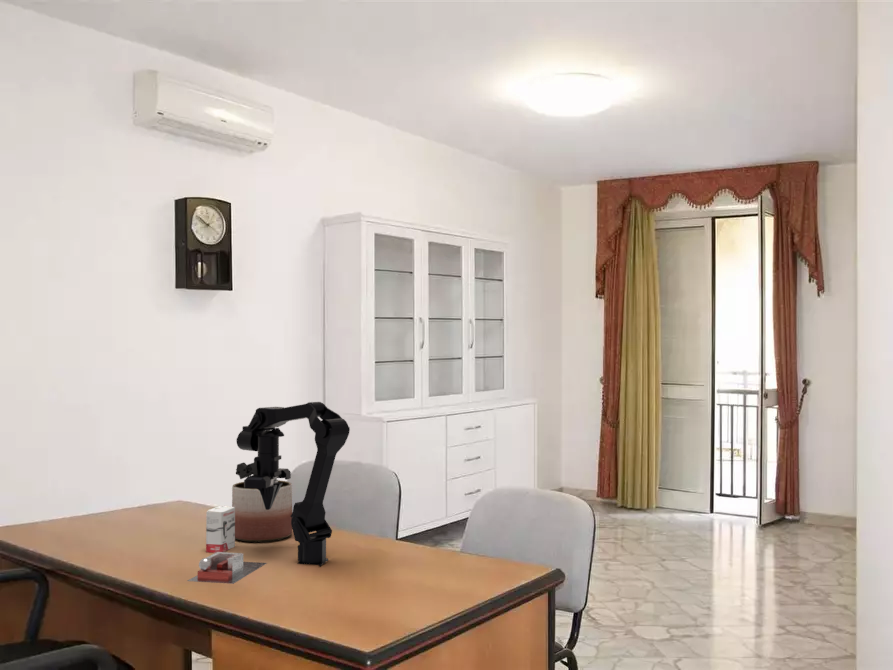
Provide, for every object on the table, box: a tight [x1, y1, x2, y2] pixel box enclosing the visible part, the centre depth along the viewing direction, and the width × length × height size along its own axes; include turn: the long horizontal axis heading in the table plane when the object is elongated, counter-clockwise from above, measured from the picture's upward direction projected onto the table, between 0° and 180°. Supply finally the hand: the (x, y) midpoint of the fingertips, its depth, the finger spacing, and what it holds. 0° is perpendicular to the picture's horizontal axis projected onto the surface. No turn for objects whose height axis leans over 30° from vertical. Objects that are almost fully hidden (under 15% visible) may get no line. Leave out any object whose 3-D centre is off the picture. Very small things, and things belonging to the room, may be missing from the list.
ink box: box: [205, 505, 236, 554], centre depth 237 cm, size 9×5×12 cm, turn 168°
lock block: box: [205, 551, 244, 578], centre depth 210 cm, size 7×6×4 cm
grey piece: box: [186, 557, 268, 585], centre depth 212 cm, size 12×20×6 cm, turn 169°
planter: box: [231, 479, 293, 543], centre depth 254 cm, size 18×18×16 cm
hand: (268, 509), depth 234 cm, fingers closed
